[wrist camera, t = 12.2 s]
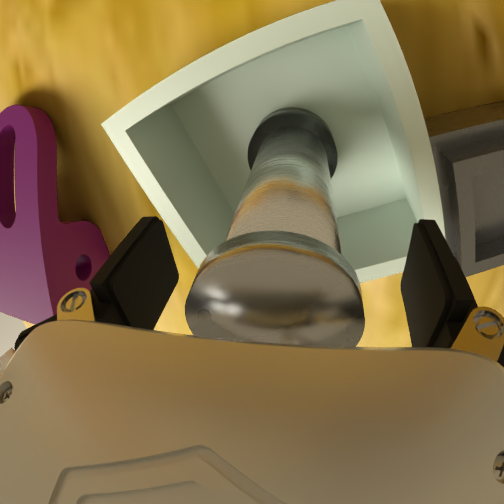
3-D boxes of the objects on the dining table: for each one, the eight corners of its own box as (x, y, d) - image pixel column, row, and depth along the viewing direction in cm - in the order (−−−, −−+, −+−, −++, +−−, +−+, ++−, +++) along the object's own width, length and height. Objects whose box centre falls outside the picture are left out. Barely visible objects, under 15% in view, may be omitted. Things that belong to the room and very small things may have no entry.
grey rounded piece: (336, 109, 16) (396, 259, 6) (331, 184, 19) (351, 380, 9) (250, 106, 16) (156, 245, 6) (254, 181, 19) (196, 367, 9)
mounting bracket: (43, 124, 26) (52, 285, 30) (-16, 120, 18) (-2, 311, 22) (107, 107, 24) (114, 296, 28) (42, 91, 16) (57, 331, 20)
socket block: (533, 218, 17) (559, 254, 13) (432, 250, 21) (448, 292, 17) (528, 96, 12) (569, 117, 8) (406, 123, 16) (431, 149, 12)
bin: (419, 202, 19) (447, 259, 14) (247, 251, 24) (229, 311, 19) (354, 6, 12) (374, -10, 7) (154, 96, 17) (101, 124, 13)
